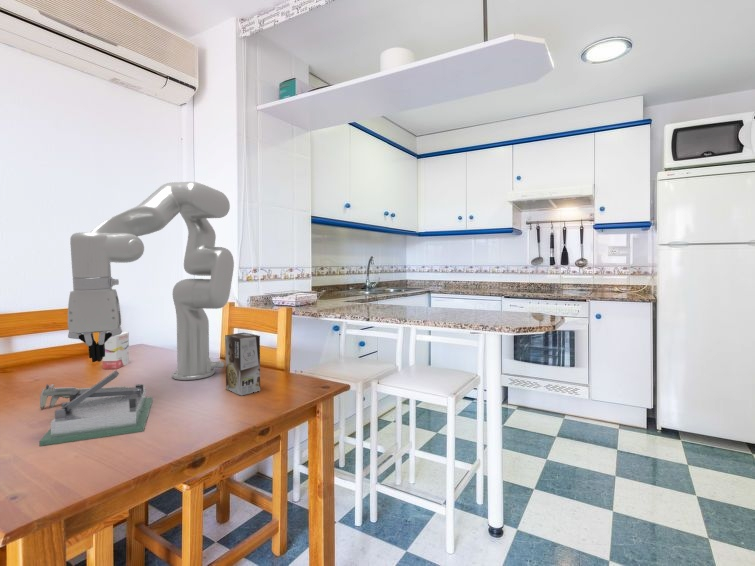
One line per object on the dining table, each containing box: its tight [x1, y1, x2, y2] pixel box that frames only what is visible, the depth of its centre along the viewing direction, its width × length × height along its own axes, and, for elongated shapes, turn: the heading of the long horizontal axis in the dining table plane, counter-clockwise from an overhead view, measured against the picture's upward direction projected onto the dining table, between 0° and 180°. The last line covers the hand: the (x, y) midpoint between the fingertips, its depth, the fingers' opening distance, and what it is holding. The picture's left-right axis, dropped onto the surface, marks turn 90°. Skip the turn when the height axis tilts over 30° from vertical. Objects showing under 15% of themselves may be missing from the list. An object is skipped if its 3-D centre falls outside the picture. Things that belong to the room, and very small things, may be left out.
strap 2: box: [78, 386, 142, 398], centre depth 98 cm, size 13×3×1 cm, turn 115°
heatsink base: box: [38, 383, 154, 447], centre depth 94 cm, size 18×22×6 cm
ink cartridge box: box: [102, 331, 130, 370], centre depth 144 cm, size 9×5×15 cm, turn 6°
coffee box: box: [224, 332, 261, 397], centre depth 117 cm, size 9×6×16 cm
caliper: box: [39, 383, 127, 410], centre depth 109 cm, size 20×1×6 cm, turn 144°
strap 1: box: [60, 370, 120, 412], centre depth 89 cm, size 13×3×1 cm
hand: (97, 360), depth 98 cm, fingers closed
